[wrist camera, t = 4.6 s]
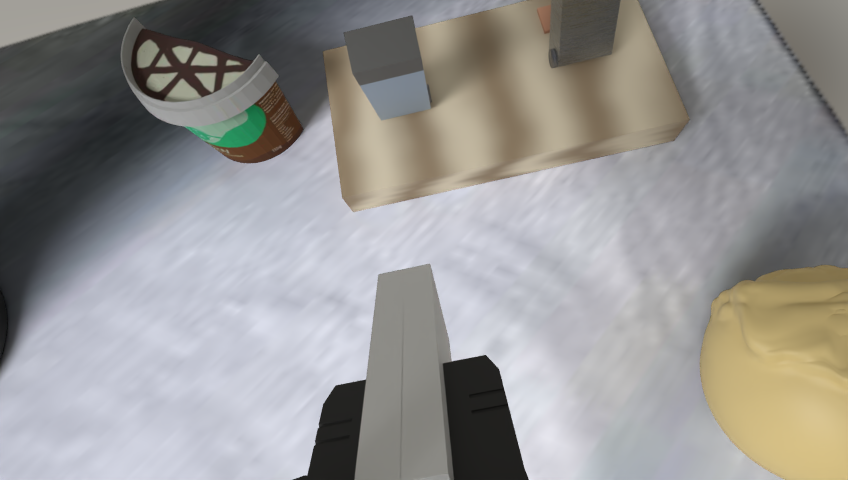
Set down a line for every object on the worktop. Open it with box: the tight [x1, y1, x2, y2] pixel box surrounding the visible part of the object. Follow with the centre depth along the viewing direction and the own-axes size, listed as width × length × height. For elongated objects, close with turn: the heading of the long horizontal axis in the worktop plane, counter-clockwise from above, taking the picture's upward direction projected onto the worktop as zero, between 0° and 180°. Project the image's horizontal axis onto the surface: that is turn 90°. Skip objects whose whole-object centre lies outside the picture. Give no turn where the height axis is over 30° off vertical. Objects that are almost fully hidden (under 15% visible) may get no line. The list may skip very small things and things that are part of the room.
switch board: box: [323, 0, 690, 212], centre depth 37 cm, size 26×14×3 cm, turn 100°
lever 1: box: [344, 16, 432, 120], centre depth 31 cm, size 4×2×11 cm, turn 100°
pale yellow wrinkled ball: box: [700, 265, 848, 480], centre depth 25 cm, size 11×12×11 cm
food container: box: [121, 17, 303, 163], centre depth 36 cm, size 12×6×10 cm, turn 67°
